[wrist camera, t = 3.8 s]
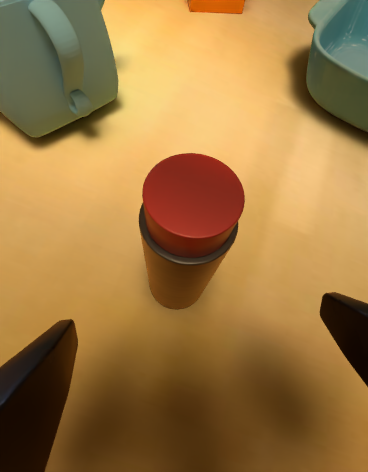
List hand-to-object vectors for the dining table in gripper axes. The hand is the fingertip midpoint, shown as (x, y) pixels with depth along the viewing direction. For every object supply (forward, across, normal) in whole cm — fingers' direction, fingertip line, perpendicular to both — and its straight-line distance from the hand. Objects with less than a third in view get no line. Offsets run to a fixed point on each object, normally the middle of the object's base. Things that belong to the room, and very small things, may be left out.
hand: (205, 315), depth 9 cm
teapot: (+29, +13, -12) cm, 34 cm away
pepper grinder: (+12, 0, +5) cm, 13 cm away
